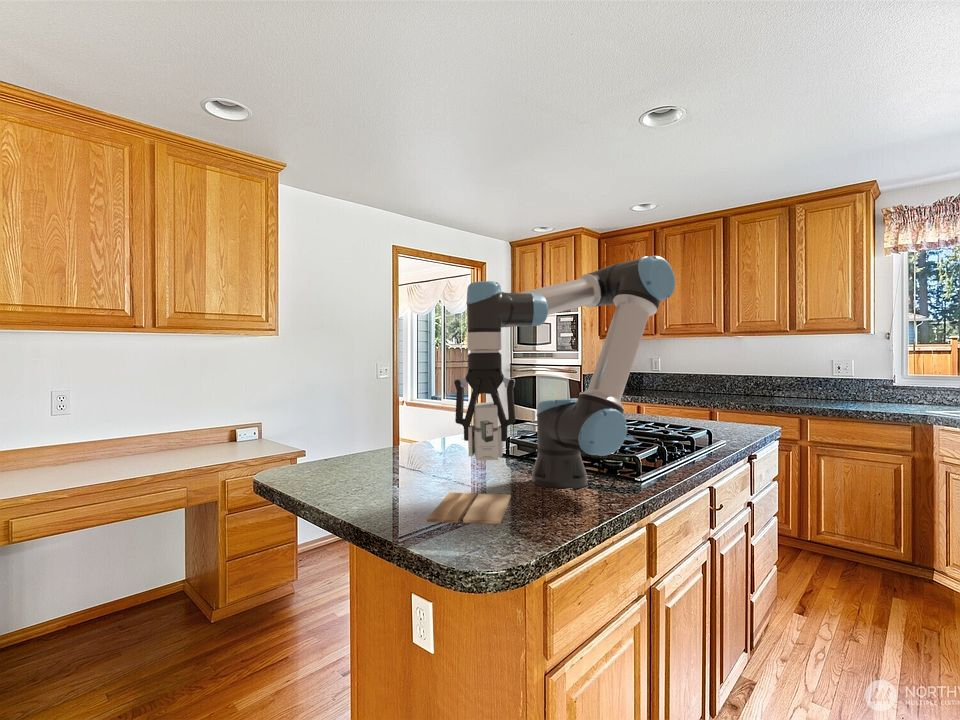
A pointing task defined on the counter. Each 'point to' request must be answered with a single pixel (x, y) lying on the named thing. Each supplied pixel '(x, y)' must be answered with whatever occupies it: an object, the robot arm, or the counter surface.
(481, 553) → the counter surface
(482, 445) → the ink box
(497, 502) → the plank
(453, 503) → the floor strip
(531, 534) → the counter surface
